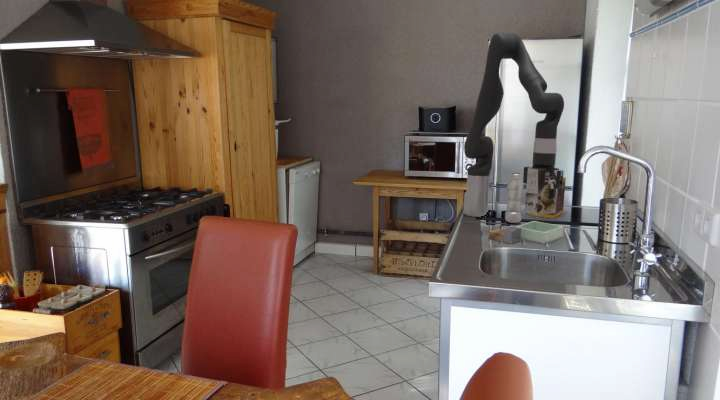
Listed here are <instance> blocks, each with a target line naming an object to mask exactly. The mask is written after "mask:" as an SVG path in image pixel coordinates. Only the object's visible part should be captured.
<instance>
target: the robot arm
mask: <svg viewBox="0 0 720 400" xmlns="http://www.w3.org/2000/svg"><path fill="white" fill-rule="evenodd" d="M486 54H487V56H486V62H485V67H484V74H483V78H482V82H481V86H480V91H479V93H478V97H477V100H476V101H477V102H476V105H475V110H474V114H473V117H472V121H471V125H470V128H469V130H468V133H467V136H466V138H465V141H464V142H465V143H464V148H463V149H464V155H465V157H466V158H467V159H469V160H470V159H471V160H476V159H477V160H478V161H477V162H476V163H475V164H472V165H471V166H468V168H467V171H466V172H467V174H466V191H465V192H464V196H463V198H464V199H463V214H464V215H466V216H468V217H475V218H478V217H479V218H482V217H481V216H484V215H485V214H486V213H487V212H488V213H489V200H490V199H489V198H490V194H489V193H490V182H491V181H490V178H491V170H492V166H493V158H494V157H493V156H494V141H493V139H492V137H490V136H489V135H485V136H484V135H482V134H483V132H484V130H485V128H486V126H487V125H488V124H489V123H490V122H491V121H492V120H493V119H494V118H495V117H496V116H497V114H498V113H499V111H500V109H501V106H502V103H503V99H504V92H505V91H504V87H503V84H502V81H501V78H500V67H501V63H502V60H503V59H504V60H507V59H508V60H510V59H511V60H513V61H514V63H515V64H517V66H518V72H517V73H518V80H519V83H520V84H521V86H522V87H523V89H524V90H525V91H526V93H527V94H528V99H529V101H530V105H531V107H532V109H533V110H534V111H535V112H536V113H537V114H541V115H542V114H545V117H544V119H542V120H539V121H537V122H536V124H535V134H534V142H533V150H532V151H533V153H532V166H529V165H528V166H524V167H523V176H522V177H523V179H522V183H523V184H526V185H527V175H528V168H545V169H550V174H549V175H550V177H551V176H552V174H553V175H554V173H555V175H556V176H557V177H556V183H555V180H554V179H553V180H550V178H549V177H548V184H549V186H550V188H551V189H550V195H549V199H551V200H552V199H554V198H555V197H556V189H557V188H559V187H562V183H563V177H564V173H565V172H564V170H562V169H559V170H555V168H556V167H555V166H556V159H557V144H558V142H557V136H558V135H557V132H558V125H559V123H560V121H561V117H562V115H563V112H564V109H565V101H564V97H563V95H562V94H561V93H559V92H546V91H547V89H548V83H547V82H546V81H547V80H545V79H544V77H543V76H542V74H541V73H540V72H539V71H538V69H537V68H536V66H535V64H534V62H533V60H532V59H531V56H530V54H529V52H528V50H527V48H526V46H525V43H524V41H523V39H522V38H521V37H520V36H519V34H517V33H511V32H510V33H509V32H508V33H507V32H498V33H497V32H496V33H494V34H493V36H492V37H491V39H490V41H489V44H488V47H487V53H486ZM552 182H553V183H552Z"/></svg>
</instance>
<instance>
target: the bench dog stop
mask: <svg viewBox="0 0 720 400" xmlns="http://www.w3.org/2000/svg"><path fill="white" fill-rule="evenodd" d="M503 230H504V241H503V242H502V243H505V244H510V245H513V244H515V243H519V242H520V241H521V239H520V237H521V228H517V227H516V226H512V227H508V228H506V229H503Z"/></svg>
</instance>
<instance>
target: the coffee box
mask: <svg viewBox="0 0 720 400" xmlns="http://www.w3.org/2000/svg"><path fill="white" fill-rule="evenodd" d="M555 170H560V168H558V167H555ZM549 174H550V169H545V168H528V175H527V184H526V188H525V189H526V190H525V191H526V192H525V203H524V213H527V214H529V213H530V214H534V215H544V214H552V213H555V211H556V199H557V189H556V197H555V198H554V199H552V200H551V199H549V195H550V189H551V188H550V186H549V184H548V177H549V178H550V180H553V179H554V180H555V183H556V177H557V176H556V175H555V173H554V175H553V174H552V176H551V177H550V175H549ZM552 183H553V182H552Z"/></svg>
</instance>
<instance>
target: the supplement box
mask: <svg viewBox="0 0 720 400" xmlns="http://www.w3.org/2000/svg"><path fill="white" fill-rule="evenodd" d="M566 180H567V177H565V176H563V183H562V187H559V188H557V199H556V211H555V213H552V214H544V215H534V214H530V213H528V216H529V217H537V218H544V219H551V220H553V219H555V218H556V217H558V216H560V215H562V214H563V213H564V202H565V191H566V182H567V181H566Z"/></svg>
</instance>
